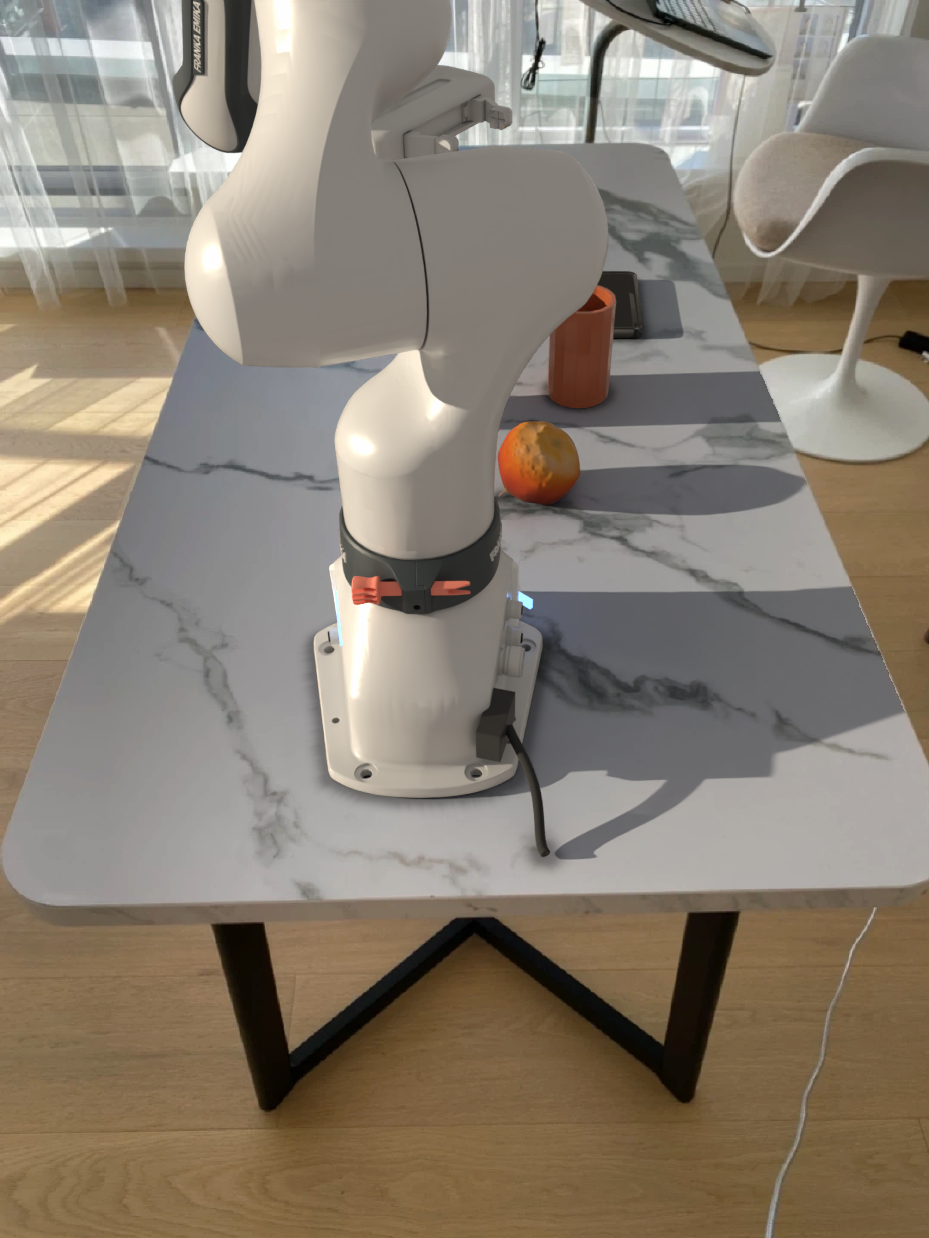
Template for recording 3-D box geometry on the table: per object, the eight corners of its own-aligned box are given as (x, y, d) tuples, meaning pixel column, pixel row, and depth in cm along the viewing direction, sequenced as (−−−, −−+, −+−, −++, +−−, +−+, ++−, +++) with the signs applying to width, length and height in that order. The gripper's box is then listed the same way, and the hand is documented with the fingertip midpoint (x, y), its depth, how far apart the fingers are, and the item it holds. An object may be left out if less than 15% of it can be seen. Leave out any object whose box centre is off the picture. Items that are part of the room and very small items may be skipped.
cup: (610, 408, 112) (618, 313, 104) (548, 409, 112) (552, 314, 105) (605, 375, 117) (612, 282, 109) (545, 376, 117) (549, 283, 109)
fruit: (493, 446, 105) (535, 393, 99) (557, 491, 106) (602, 442, 100) (467, 492, 99) (509, 439, 94) (534, 540, 100) (580, 490, 95)
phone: (576, 329, 122) (574, 270, 133) (575, 337, 123) (574, 279, 134) (644, 329, 122) (637, 271, 132) (643, 338, 122) (636, 279, 133)
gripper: (300, 106, 100) (417, 133, 94) (426, 50, 112) (537, 71, 106) (309, 173, 104) (421, 203, 98) (429, 113, 116) (535, 136, 110)
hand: (482, 134), depth 102 cm, fingers open, 8 cm apart
